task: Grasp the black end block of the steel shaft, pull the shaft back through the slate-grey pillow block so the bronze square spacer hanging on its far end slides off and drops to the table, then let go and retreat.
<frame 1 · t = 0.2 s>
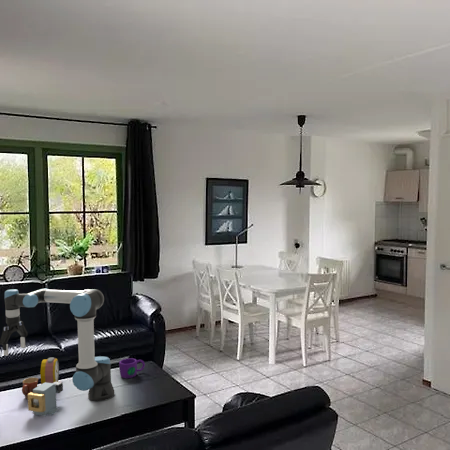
hand: (14, 351, 281), 28 cm above the table, fingers open, 13 cm apart
pillow block: (45, 411, 263), on the table
mug 2: (132, 375, 313), on the table
alarm clock: (50, 387, 296), on the table
mug: (29, 398, 281), on the table
spacer: (37, 410, 257), point 4 cm above the table, touching shaft
shaft: (47, 393, 265), point 9 cm above the table, slide at 0.0 cm, touching spacer
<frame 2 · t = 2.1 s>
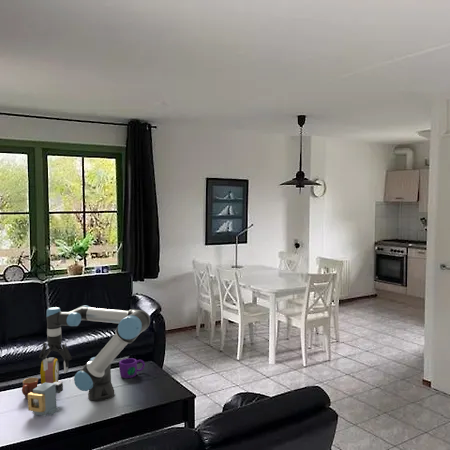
hand: (55, 371, 273), 18 cm above the table, fingers open, 13 cm apart
nothing on the table moved.
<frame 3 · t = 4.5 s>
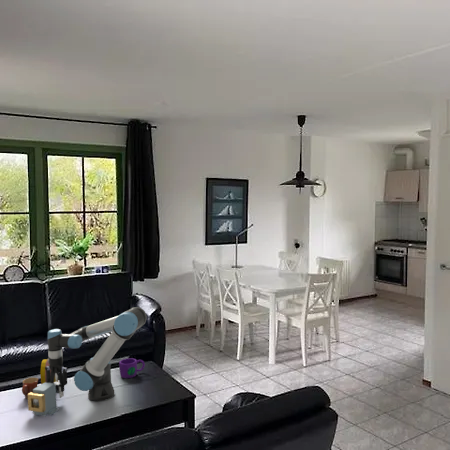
hand: (57, 396, 274), 4 cm above the table, fingers closed on shaft, 5 cm apart
shaft: (47, 393, 265), point 9 cm above the table, slide at 0.0 cm, touching gripper, spacer
everything else where it was.
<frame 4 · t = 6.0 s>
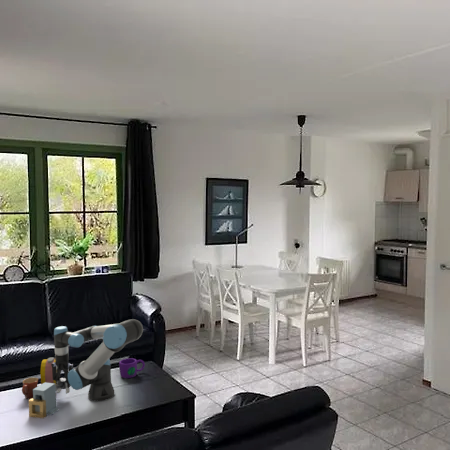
hand: (63, 392, 279), 4 cm above the table, fingers closed on shaft, 5 cm apart
spacer: (37, 416, 257), on the table
shaft: (53, 389, 271), point 9 cm above the table, slide at 5.6 cm, touching gripper
everything else where it was.
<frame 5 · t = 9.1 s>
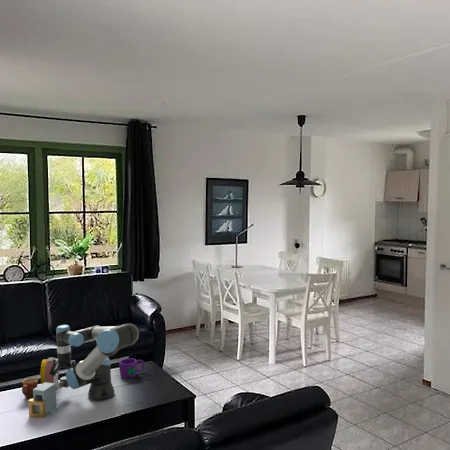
hand: (65, 387, 281), 6 cm above the table, fingers open, 13 cm apart
shaft: (56, 387, 273), point 9 cm above the table, slide at 7.9 cm
everything else where it was.
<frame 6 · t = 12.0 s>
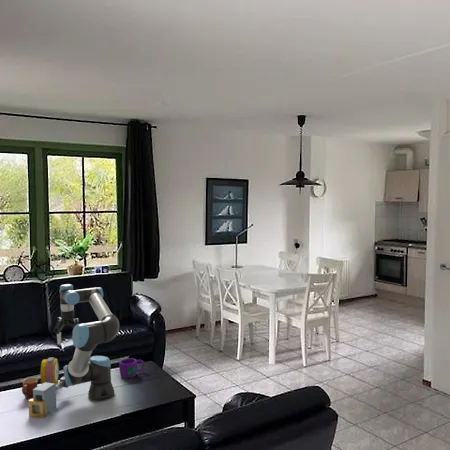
hand: (69, 344, 288), 29 cm above the table, fingers open, 13 cm apart
nothing on the table moved.
at the end: shaft slide at 7.9 cm; spacer on the table; spacer touching table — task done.
